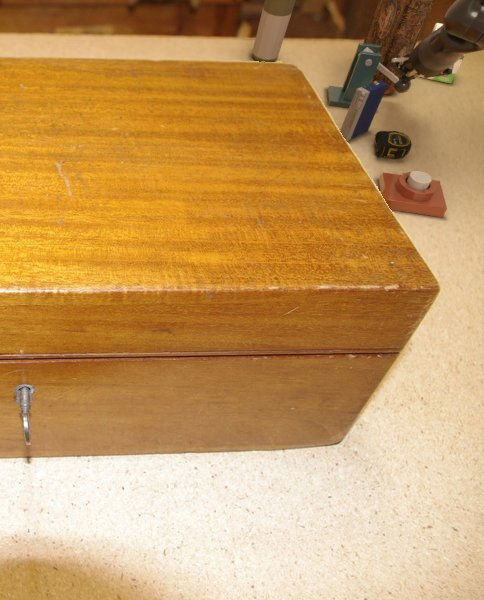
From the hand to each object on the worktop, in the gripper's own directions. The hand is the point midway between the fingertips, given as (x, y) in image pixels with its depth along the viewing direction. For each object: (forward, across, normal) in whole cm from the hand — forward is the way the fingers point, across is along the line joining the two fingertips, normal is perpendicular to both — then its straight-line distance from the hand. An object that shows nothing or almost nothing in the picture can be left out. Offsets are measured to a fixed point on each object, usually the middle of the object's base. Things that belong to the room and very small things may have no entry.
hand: (406, 76), depth 157 cm
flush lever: (+1, +5, +1) cm, 6 cm away
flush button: (-22, 0, +27) cm, 35 cm away
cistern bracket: (+6, +10, +5) cm, 12 cm away
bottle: (+16, +30, -5) cm, 34 cm away
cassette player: (-4, +10, +16) cm, 19 cm away
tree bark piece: (+15, +3, -3) cm, 15 cm away
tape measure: (-8, +4, +20) cm, 21 cm away
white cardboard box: (+18, -11, -7) cm, 22 cm away
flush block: (-19, 0, +30) cm, 36 cm away
